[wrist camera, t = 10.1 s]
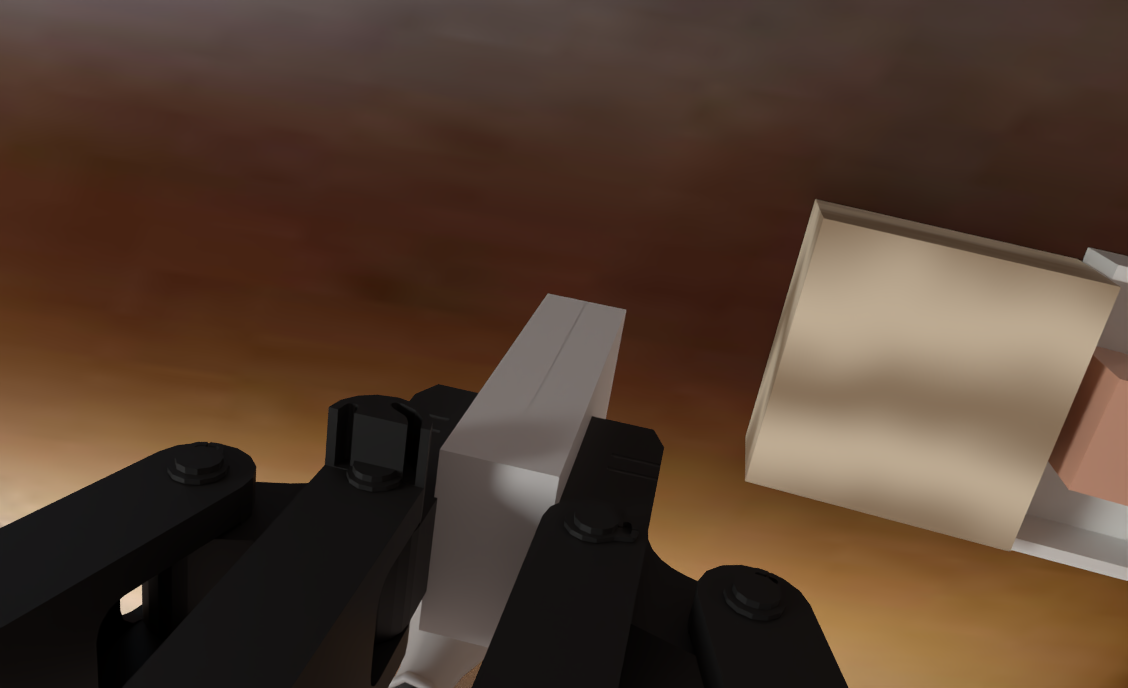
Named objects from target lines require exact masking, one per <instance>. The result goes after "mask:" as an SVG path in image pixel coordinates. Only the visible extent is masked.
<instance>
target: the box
mask: <svg viewBox="0 0 1128 688" xmlns="http://www.w3.org/2000/svg"><path fill="white" fill-rule="evenodd" d="M1082 262H1083V263H1085V264H1086V265H1088V266H1089V267H1091V268H1092V269H1094V270H1096V271H1097V272H1099V273H1100V274H1102V275H1103V276H1105V277H1106V278H1108V279H1109V280H1111V281H1113V282H1114V283H1116V284H1117V285H1119V286H1120V287H1121V289H1120V291H1119V293H1118V296H1117V298H1116V301H1115V303H1114V305H1113V308H1112V310H1111V312H1110V315H1109V317H1108V320H1107V322H1106V324H1105V327H1104V329H1103V332H1102V334H1101V336H1100V339H1099V341H1098V343H1097V346H1098V347H1102V348H1106V349H1110V350H1113V351H1117V352H1121V353H1125V354H1128V256H1125V255H1120V254H1116V253H1112V252H1107V251H1103V250H1099V249H1094V248H1090V247H1088V249H1087V251H1086V254H1085V256H1084V259H1083V261H1082ZM1011 550H1014V551H1017V552H1021V553H1025V554H1029V555H1032V556H1036V557H1040V558H1044V559H1047V560H1051V561H1055V562H1059V563H1063V564H1066V565H1070V566H1074V567H1078V568H1081V569H1085V570H1089V571H1093V572H1096V573H1100V574H1104V575H1108V576H1111V577H1115V578H1119V579H1123V580H1126V581H1128V506H1125V505H1122V504H1118V503H1115V502H1111V501H1107V500H1104V499H1100V498H1097V497H1093V496H1090V495H1086V494H1082V493H1079V492H1075V491H1072V490H1068V488H1067V487H1066V485H1065V484H1064V483H1063V481H1062V480H1061V478H1060V477H1059V476H1058V474H1057V473H1056V471H1055V470H1054V469H1053V467H1052V466H1051V465H1050V463H1049V462H1047V465H1046V467H1045V470H1044V472H1043V474H1042V477H1041V479H1040V481H1039V484H1038V486H1037V489H1036V491H1035V493H1034V496H1033V498H1032V501H1031V503H1030V505H1029V508H1028V510H1027V512H1026V515H1025V517H1024V520H1023V522H1022V524H1021V527H1020V529H1019V531H1018V534H1017V536H1016V539H1015V541H1014V543H1013V546H1012V548H1011Z"/></svg>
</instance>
